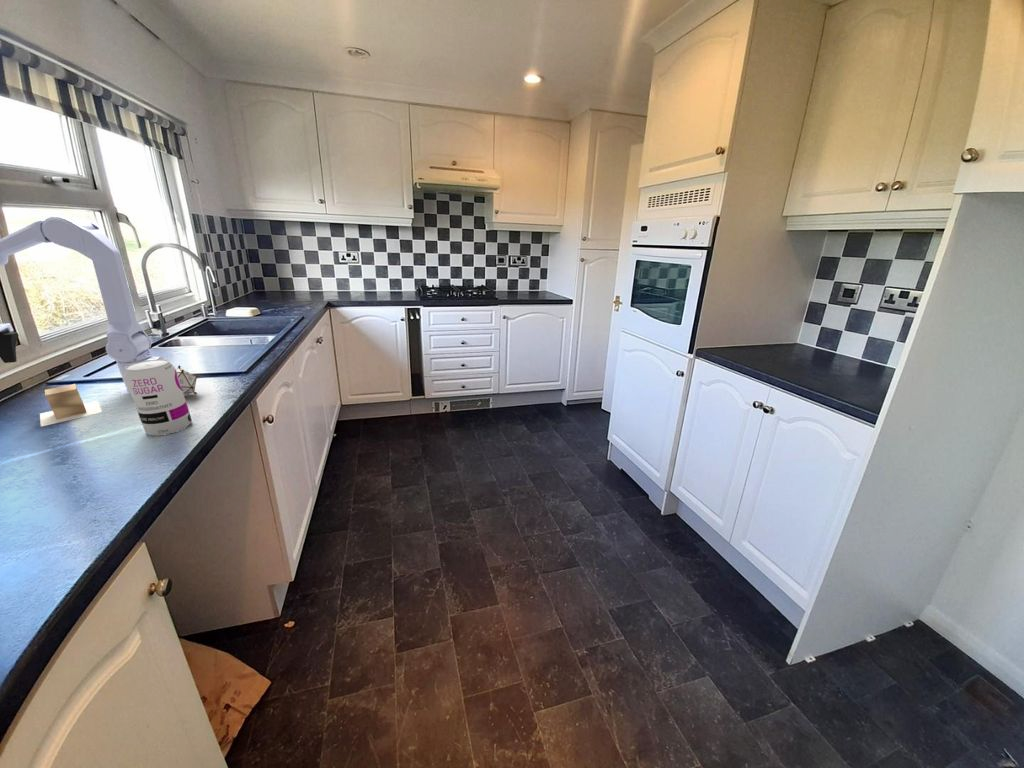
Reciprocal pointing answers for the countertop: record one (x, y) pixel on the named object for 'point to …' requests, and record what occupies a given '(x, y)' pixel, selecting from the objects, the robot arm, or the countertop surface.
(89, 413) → the tile
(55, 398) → the oak cube
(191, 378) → the game die
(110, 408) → the countertop surface
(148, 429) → the supplement can
